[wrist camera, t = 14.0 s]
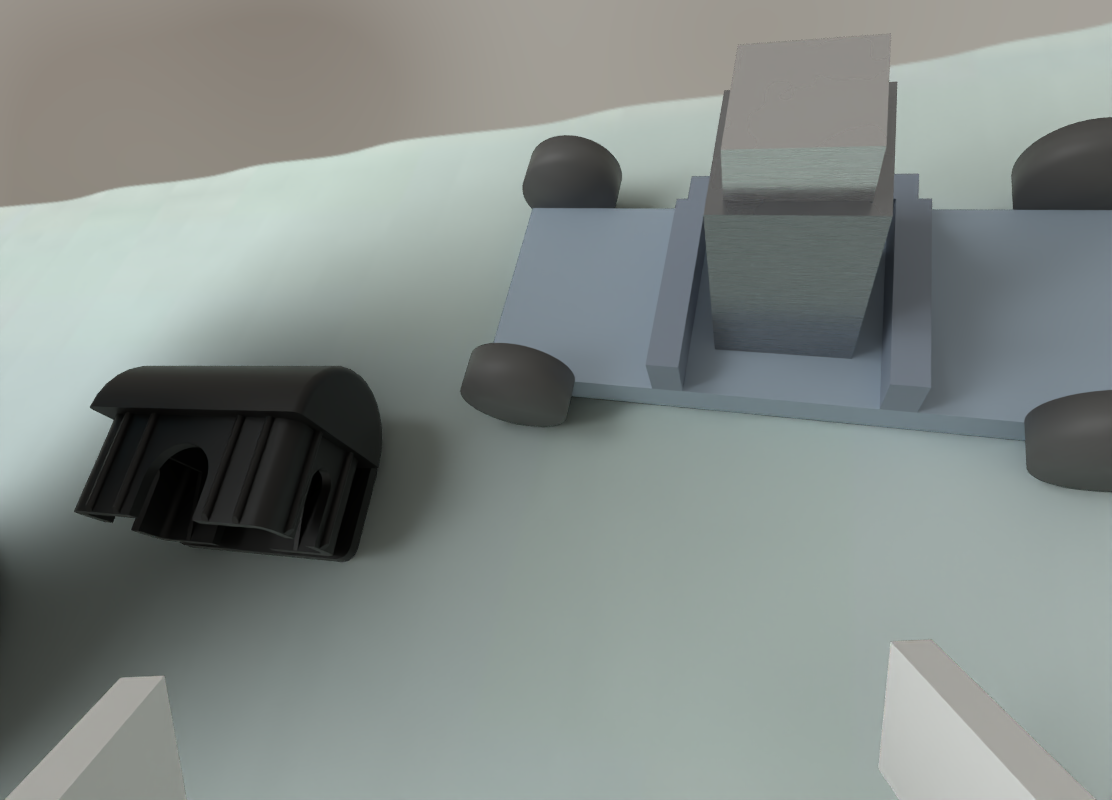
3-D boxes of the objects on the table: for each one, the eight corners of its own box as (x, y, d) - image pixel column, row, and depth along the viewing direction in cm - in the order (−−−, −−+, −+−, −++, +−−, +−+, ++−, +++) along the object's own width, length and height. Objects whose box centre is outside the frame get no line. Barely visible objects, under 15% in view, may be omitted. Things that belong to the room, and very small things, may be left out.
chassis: (482, 420, 29) (443, 375, 26) (544, 203, 34) (518, 136, 30) (1163, 499, 22) (1253, 451, 18) (1124, 203, 26) (1189, 114, 22)
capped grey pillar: (714, 349, 26) (699, 164, 18) (729, 246, 28) (722, 34, 20) (851, 358, 25) (908, 161, 16) (857, 249, 27) (911, 19, 18)
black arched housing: (403, 410, 31) (321, 337, 25) (365, 564, 28) (263, 522, 22) (227, 406, 34) (116, 339, 28) (176, 546, 31) (40, 504, 25)
